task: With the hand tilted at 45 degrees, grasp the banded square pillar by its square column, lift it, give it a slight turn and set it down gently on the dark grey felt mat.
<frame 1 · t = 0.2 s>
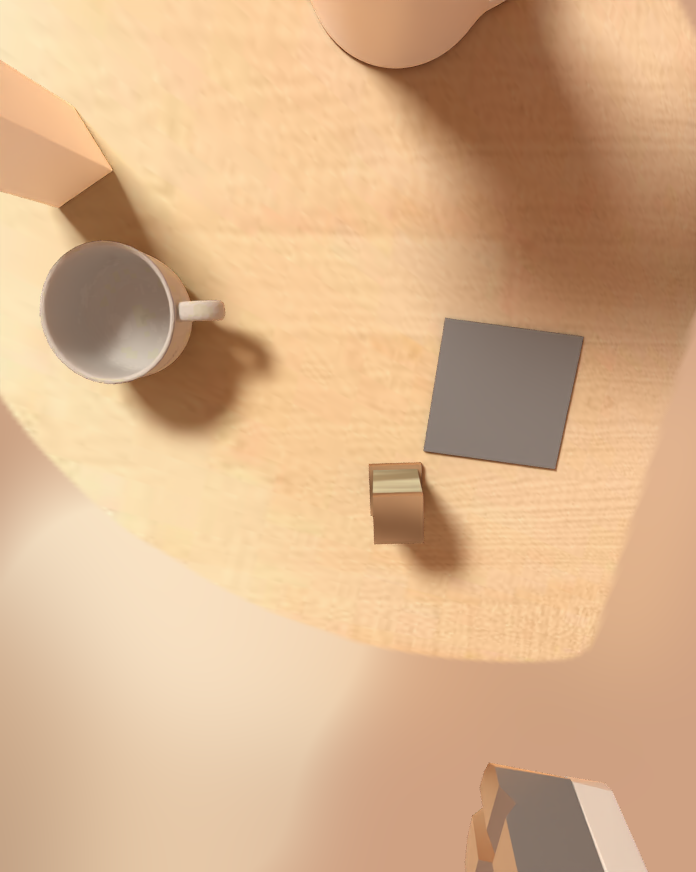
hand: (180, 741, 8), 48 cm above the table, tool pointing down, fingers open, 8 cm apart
milk: (67, 158, 52), on the table
teacup: (162, 314, 55), on the table
banded square pillar: (395, 487, 57), on the table
mat: (500, 394, 55), on the table
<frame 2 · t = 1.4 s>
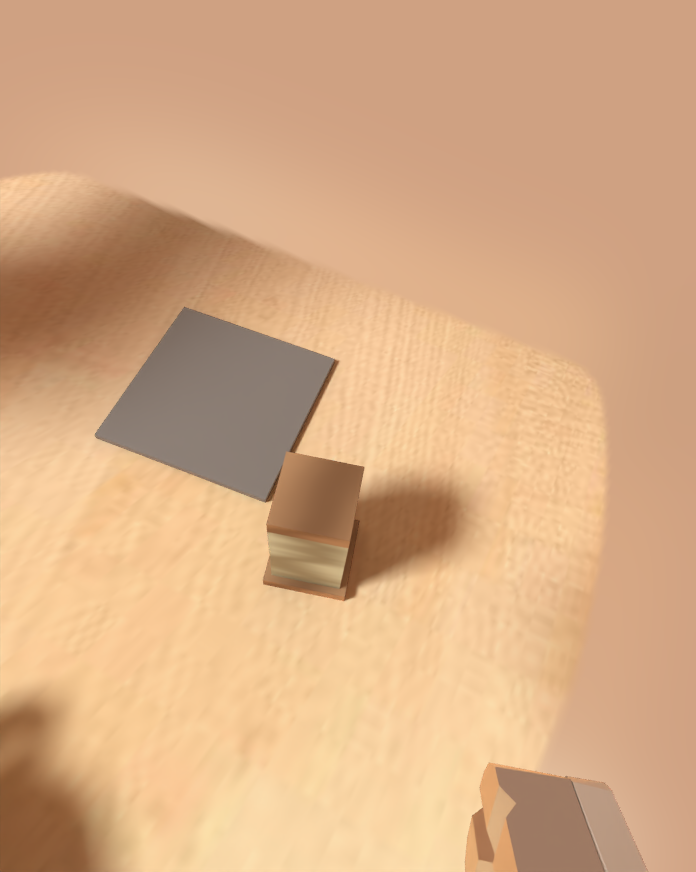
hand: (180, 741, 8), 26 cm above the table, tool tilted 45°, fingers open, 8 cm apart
banded square pillar: (312, 554, 37), on the table
mat: (221, 398, 42), on the table
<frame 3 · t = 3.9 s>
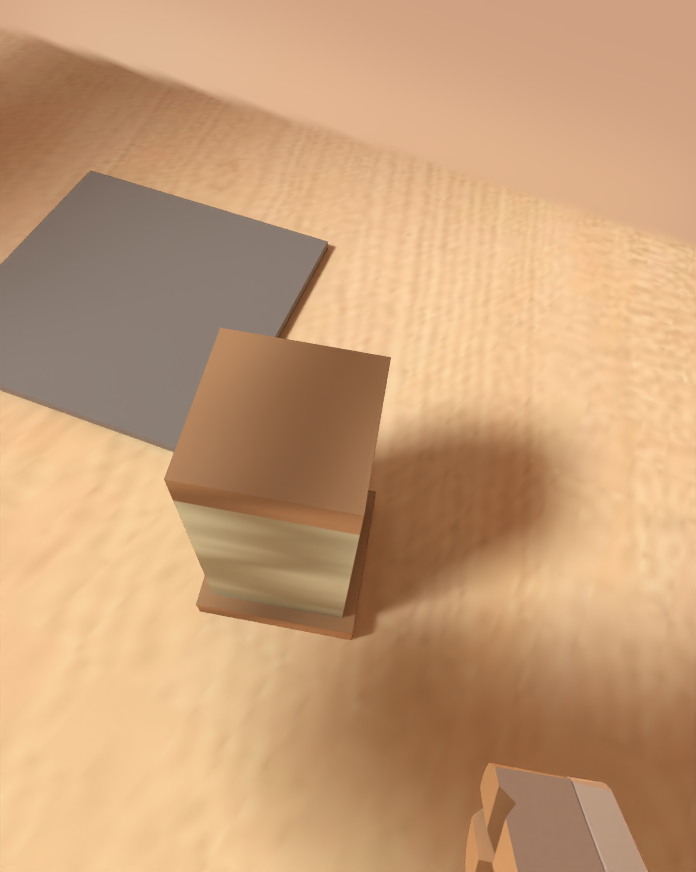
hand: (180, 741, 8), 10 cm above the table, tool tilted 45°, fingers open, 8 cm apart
banded square pillar: (291, 553, 20), on the table
mat: (142, 299, 25), on the table
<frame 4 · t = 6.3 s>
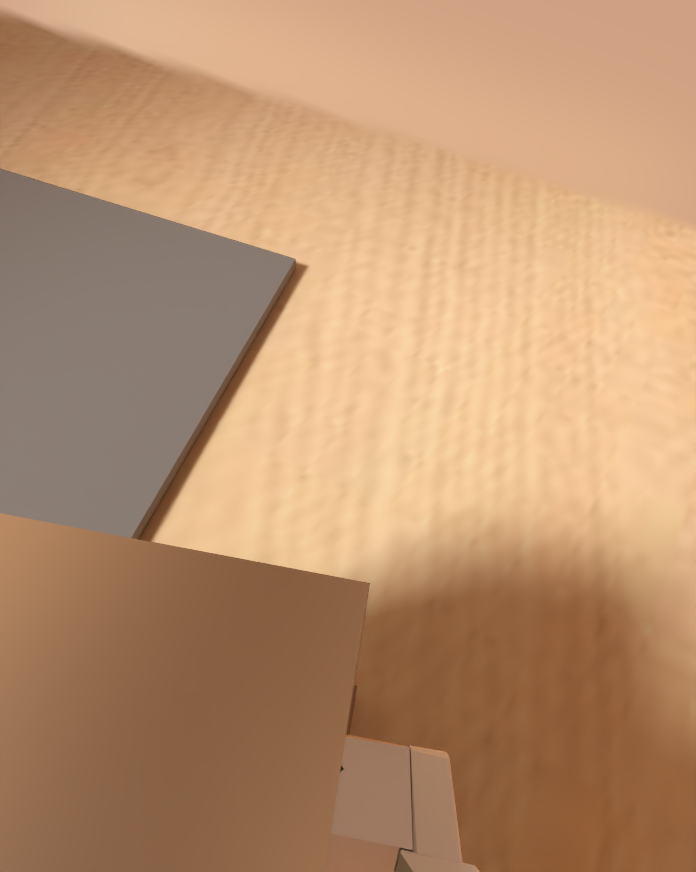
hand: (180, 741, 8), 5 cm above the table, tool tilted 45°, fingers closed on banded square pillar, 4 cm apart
banded square pillar: (212, 798, 12), on the table, touching gripper
mat: (16, 347, 17), on the table
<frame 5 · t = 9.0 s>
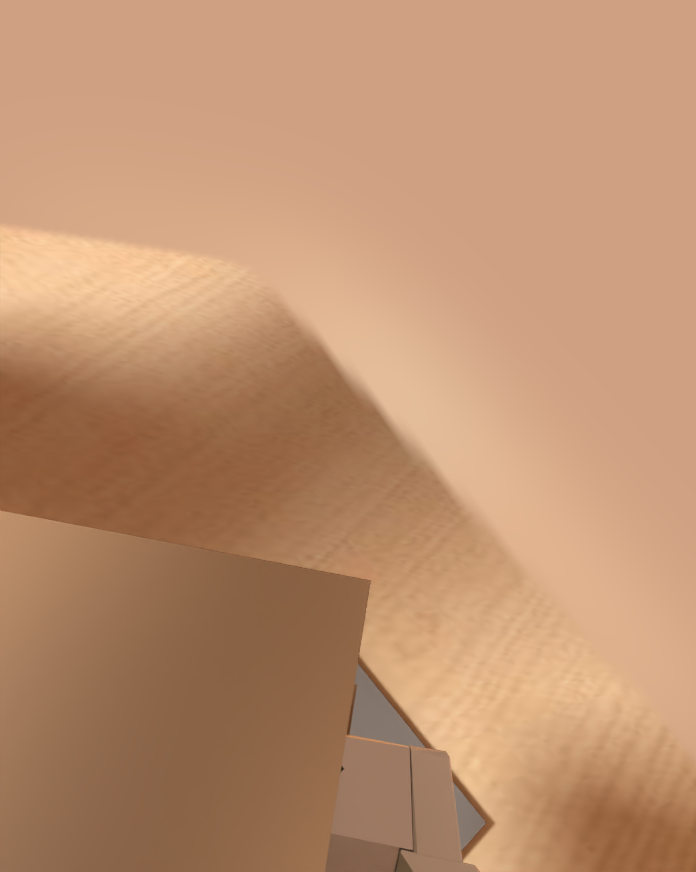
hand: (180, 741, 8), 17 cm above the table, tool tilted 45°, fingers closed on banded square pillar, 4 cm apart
banded square pillar: (212, 797, 12), point 12 cm above the table, touching gripper
mat: (255, 800, 23), on the table
when the fingers open (6 cm above the table, at t = 11.8 s): banded square pillar stays where it is, resting on mat.
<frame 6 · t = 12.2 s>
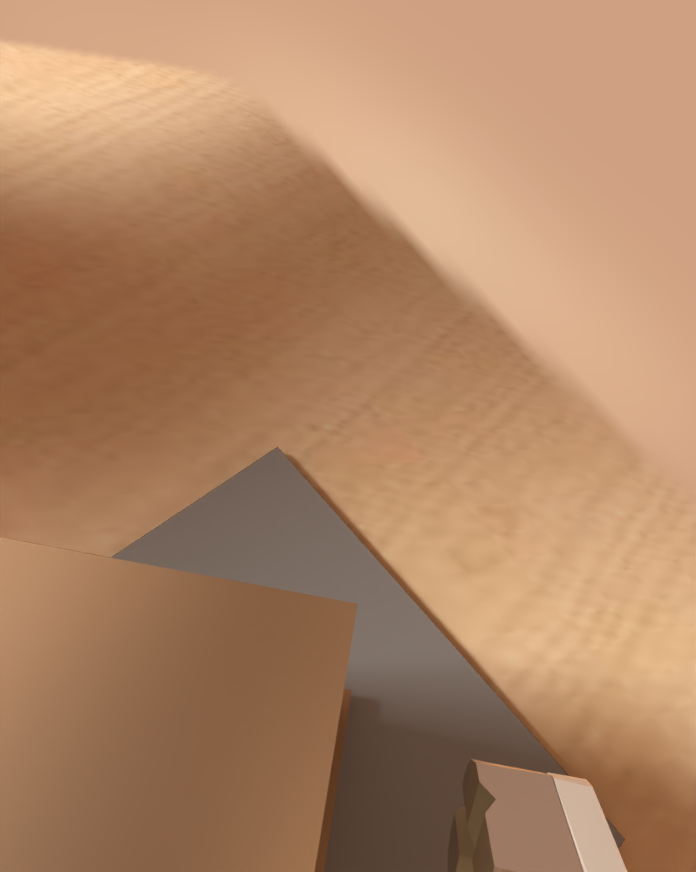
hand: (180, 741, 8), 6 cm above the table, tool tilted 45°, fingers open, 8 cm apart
banded square pillar: (216, 796, 13), resting on mat
mat: (221, 799, 13), on the table
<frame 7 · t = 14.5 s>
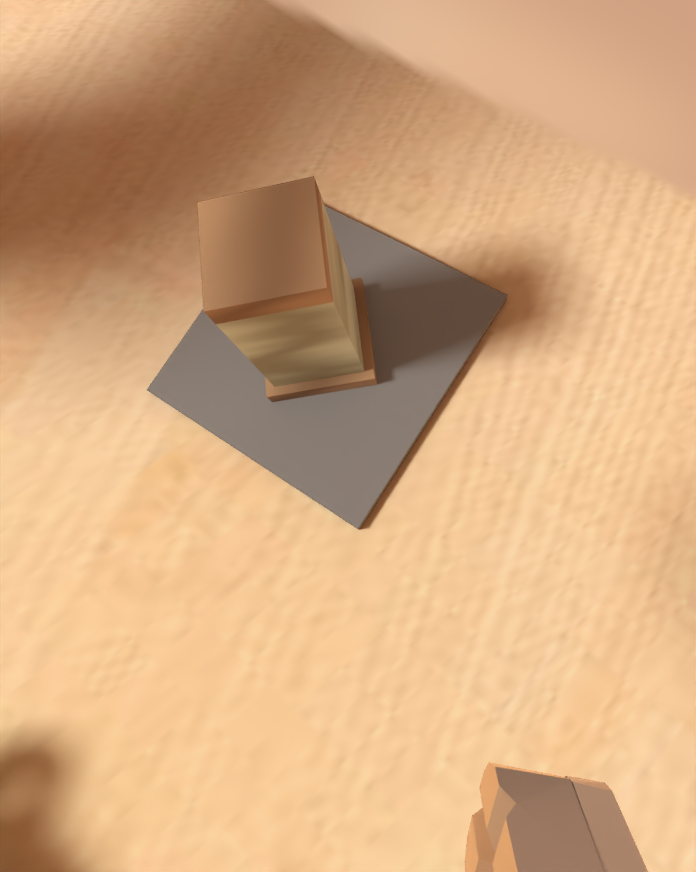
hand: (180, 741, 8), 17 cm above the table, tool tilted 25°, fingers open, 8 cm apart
banded square pillar: (318, 343, 28), resting on mat
mat: (321, 347, 28), on the table
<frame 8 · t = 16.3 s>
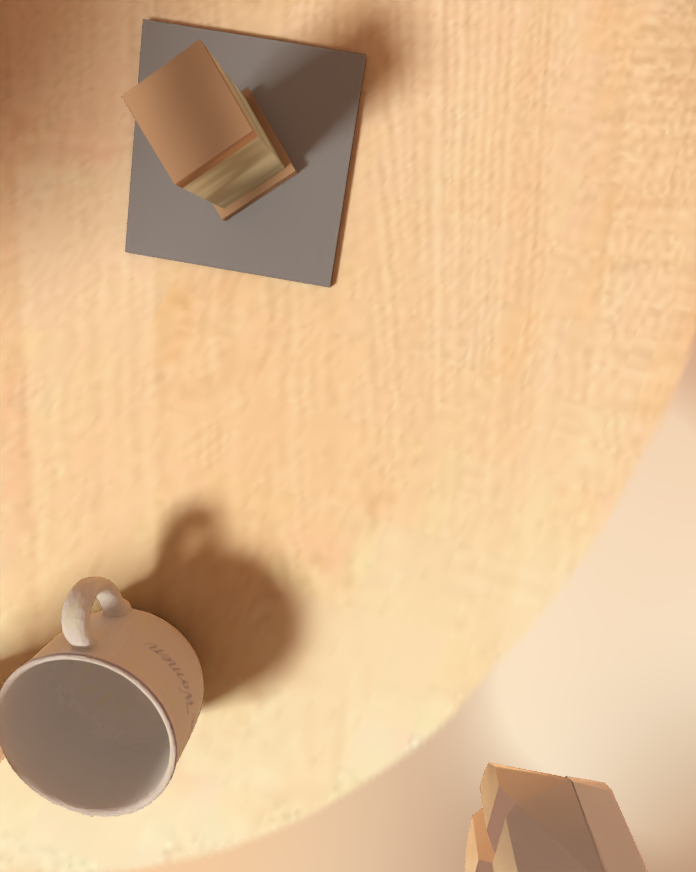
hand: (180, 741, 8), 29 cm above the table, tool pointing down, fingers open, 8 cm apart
teacup: (143, 637, 42), on the table
banded square pillar: (238, 158, 34), resting on mat
mat: (241, 159, 34), on the table
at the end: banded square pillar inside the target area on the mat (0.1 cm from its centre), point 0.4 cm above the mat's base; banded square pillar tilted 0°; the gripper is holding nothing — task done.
